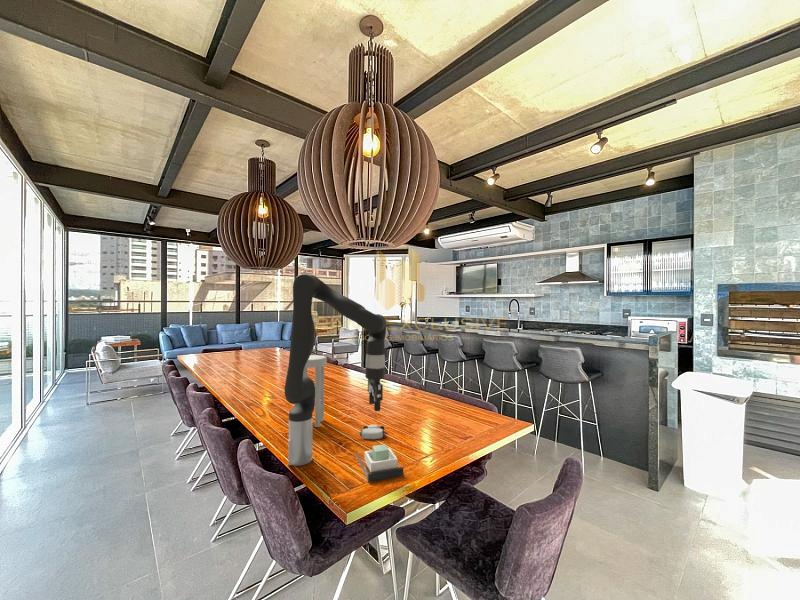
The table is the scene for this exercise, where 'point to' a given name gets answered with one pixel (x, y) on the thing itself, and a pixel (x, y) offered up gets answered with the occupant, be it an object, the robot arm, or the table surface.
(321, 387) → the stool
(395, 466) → the white square tray
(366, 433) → the robot toy
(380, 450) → the block
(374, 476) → the track
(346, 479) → the table surface
